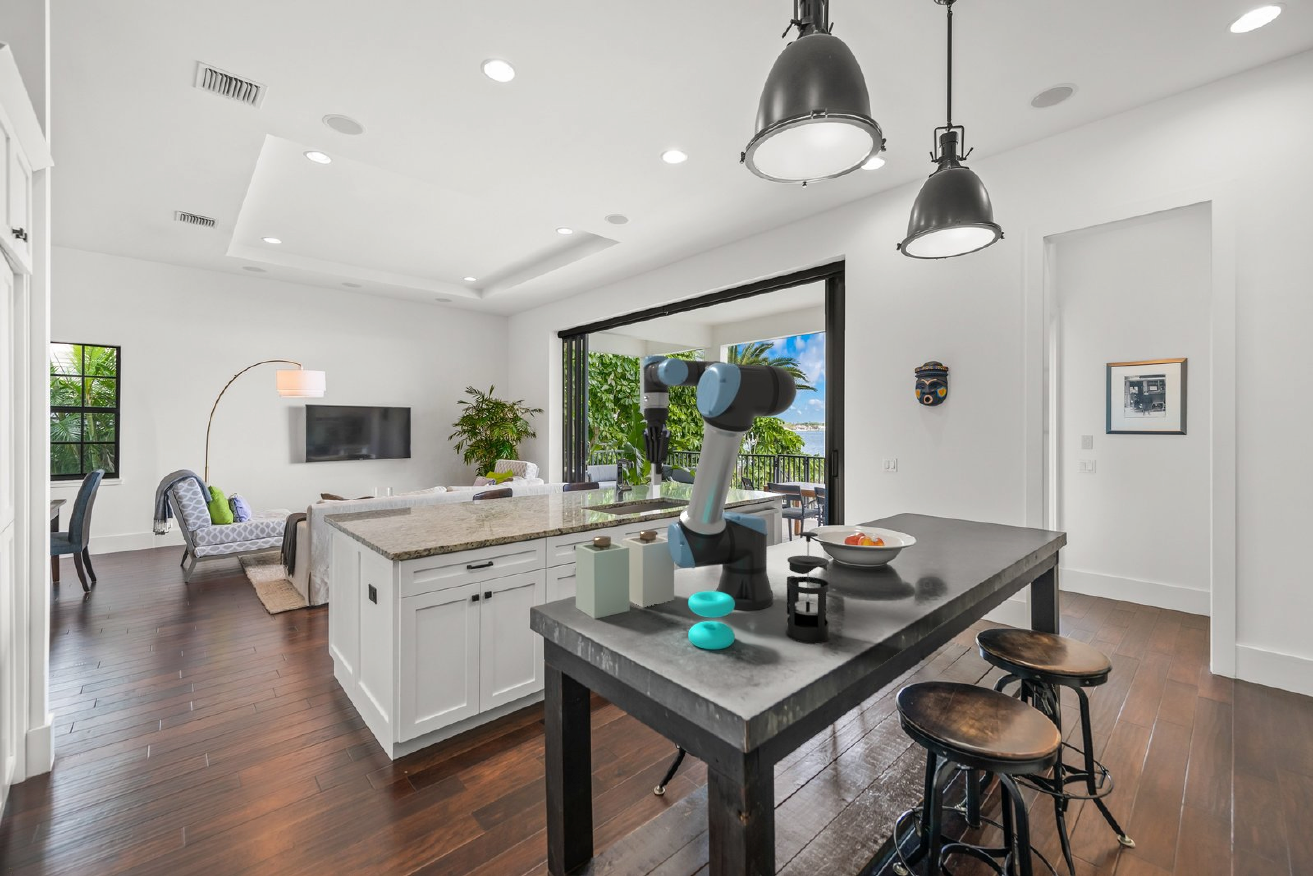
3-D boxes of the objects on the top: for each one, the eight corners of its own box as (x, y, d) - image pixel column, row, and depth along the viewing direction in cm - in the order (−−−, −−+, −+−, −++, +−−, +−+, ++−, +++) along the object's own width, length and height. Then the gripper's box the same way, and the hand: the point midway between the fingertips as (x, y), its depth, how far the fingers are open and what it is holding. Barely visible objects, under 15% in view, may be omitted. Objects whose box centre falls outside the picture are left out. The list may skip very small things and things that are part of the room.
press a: (674, 600, 147) (674, 540, 147) (642, 607, 142) (642, 545, 141) (653, 591, 156) (652, 534, 155) (622, 597, 150) (622, 538, 149)
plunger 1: (620, 591, 140) (619, 538, 139) (597, 596, 136) (596, 541, 136) (607, 585, 145) (606, 534, 145) (584, 589, 141) (584, 537, 141)
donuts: (713, 607, 112) (678, 596, 119) (713, 656, 112) (678, 642, 120) (744, 596, 119) (709, 586, 126) (744, 642, 119) (709, 630, 127)
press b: (629, 610, 139) (629, 547, 139) (594, 618, 134) (594, 553, 133) (609, 600, 148) (609, 540, 147) (575, 607, 142) (575, 545, 142)
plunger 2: (665, 582, 148) (665, 532, 147) (644, 586, 144) (644, 535, 144) (651, 576, 153) (651, 528, 153) (631, 580, 149) (630, 531, 149)
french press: (841, 640, 120) (842, 535, 119) (806, 648, 116) (807, 539, 116) (805, 622, 131) (806, 526, 130) (772, 629, 127) (773, 529, 126)
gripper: (634, 407, 171) (634, 483, 172) (658, 406, 161) (658, 487, 161) (654, 408, 176) (654, 482, 176) (679, 407, 165) (679, 485, 166)
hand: (656, 484), depth 169 cm, fingers closed
